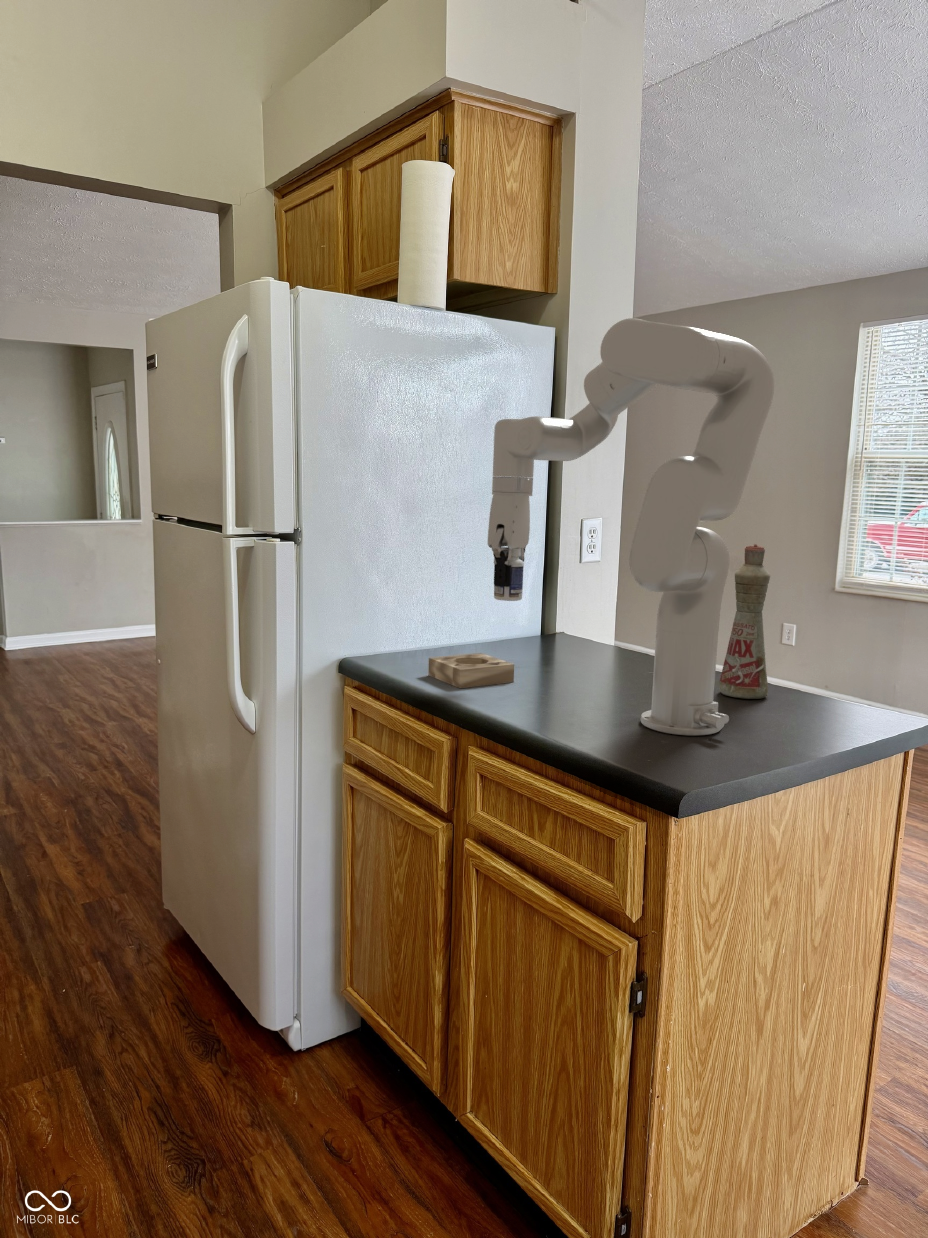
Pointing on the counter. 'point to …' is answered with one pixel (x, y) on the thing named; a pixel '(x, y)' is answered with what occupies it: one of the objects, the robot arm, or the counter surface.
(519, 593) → the pill bottle
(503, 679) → the collar
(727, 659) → the bottle
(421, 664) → the counter surface
